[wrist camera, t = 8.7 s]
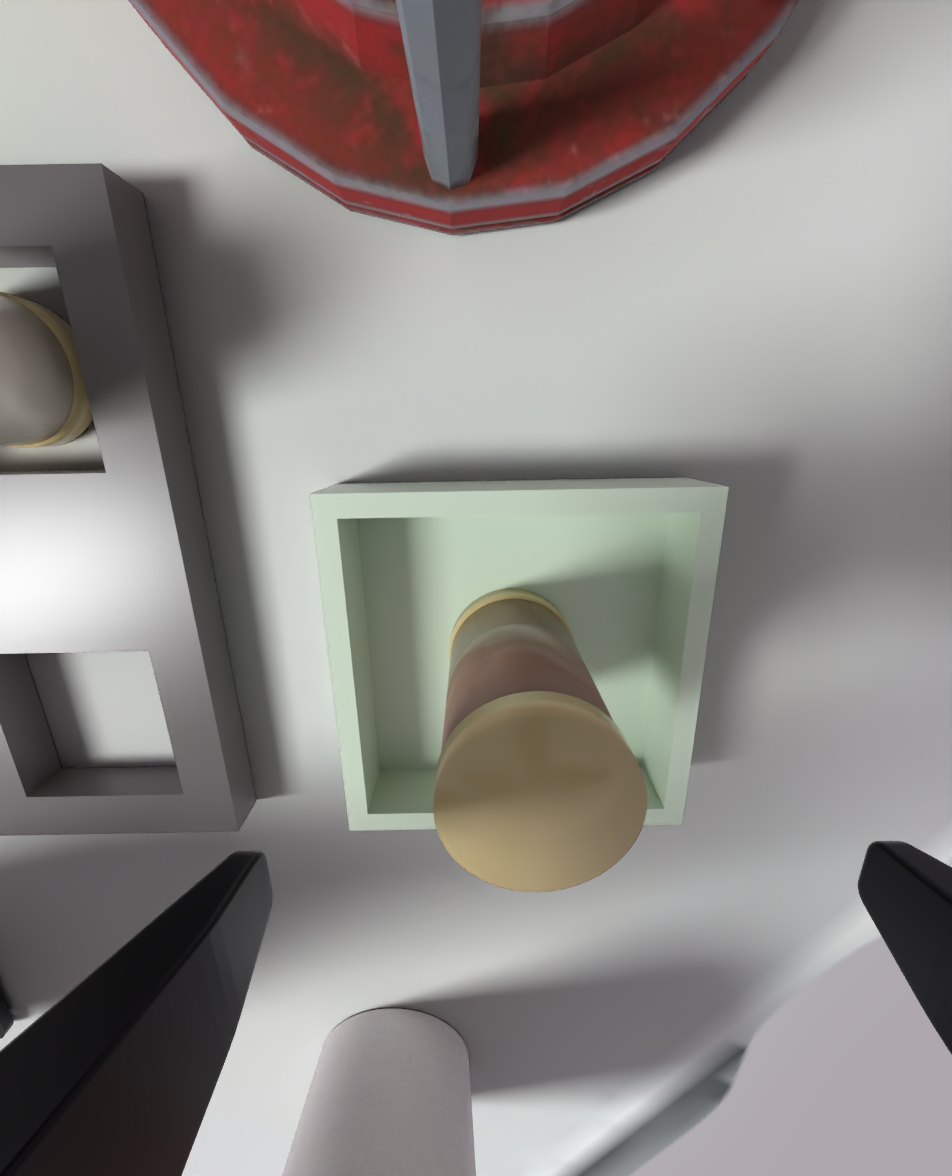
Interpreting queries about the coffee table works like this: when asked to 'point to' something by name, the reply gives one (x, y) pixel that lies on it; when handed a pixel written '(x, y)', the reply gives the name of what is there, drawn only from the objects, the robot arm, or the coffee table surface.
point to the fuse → (39, 377)
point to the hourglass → (466, 94)
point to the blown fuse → (530, 753)
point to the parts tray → (519, 561)
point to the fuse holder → (112, 535)
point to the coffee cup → (387, 1101)
